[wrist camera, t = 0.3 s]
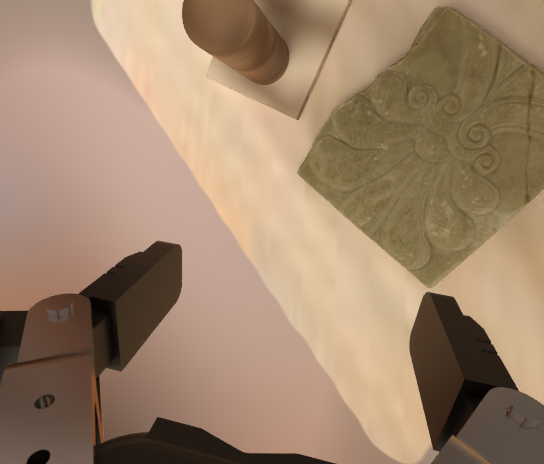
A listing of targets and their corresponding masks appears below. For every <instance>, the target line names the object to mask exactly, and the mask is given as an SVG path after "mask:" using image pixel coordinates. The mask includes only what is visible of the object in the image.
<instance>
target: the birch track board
mask: <svg viewBox="0 0 544 464" xmlns="http://www.w3.org/2000/svg"><path fill="white" fill-rule="evenodd" d="M254 1H255V3H256V4H257V5H258V7H259V8H260V9H261V11H262V12H263V13H264V15H265V16H266V17H267V19H268V20H269V21H270V23H271V24H272V25H273V27H274V28H275V29H276V31H277V32H278V33H279V35H280V36H281V37H282V39H283V40H284V41H285V43H286V45H287V47H288V51H289V63H288V66H287V69H286V71H285V73H284V74H283V76H282V77H281V78H280V79H279V80H278V81H276V82H274V83H272V84H269V85H259V84H256V83H254V82H252V81H251V80H249V79H248V78H246V77H245V76H243V75H242V74H240V73H238V72H237V71H235V70H234V69H232V68H231V67H229V66H228V65H226V64H225V63H223V62H221V61H220V60H218V59H217V58H215V57H214V56H213V58H212V61H211V64H210V66H209V69H208V72H207V75H206V77H207V78H209V79H211V80H213V81H216V82H218V83H220V84H222V85H224V86H226V87H228V88H230V89H233V90H235V91H237V92H239V93H241V94H243V95H245V96H248V97H250V98H252V99H254V100H256V101H258V102H260V103H263V104H265V105H267V106H269V107H271V108H273V109H275V110H277V111H280V112H282V113H284V114H286V115H288V116H290V117H292V118H295V119H297V120H298V119H299V117H300V115H301V113H302V110H303V108H304V106H305V104H306V101H307V99H308V97H309V95H310V92H311V90H312V88H313V86H314V83H315V81H316V79H317V77H318V75H319V72H320V70H321V68H322V66H323V63H324V61H325V59H326V57H327V54H328V52H329V50H330V48H331V45H332V43H333V41H334V39H335V36H336V34H337V32H338V30H339V28H340V25H341V23H342V21H343V19H344V16H345V14H346V12H347V10H348V7H349V5H350V3H351V1H352V0H254Z"/></svg>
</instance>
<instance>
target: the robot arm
mask: <svg viewBox="0 0 544 464" xmlns="http://www.w3.org/2000/svg"><path fill="white" fill-rule="evenodd" d="M181 287H182V249H181V246H180V245H179V244H173V243H168V242H162V241H156V242H155V243H154V244H152V245H151V246H150V247H149V248H148V249H146V250H145V251H144V252H138V253H135V254H133V255H130V256H128V257H125V258H124V259H123V260H121V261H120V262H119V263H118V264H116V265H115V267H113V268H111V269H110V270H109V271H107V273H106V274H103V275H102V276H101V277H100V278H98V279H97V280H96V281H94V282H93V283H92V284H90V285H89V286H88V287H86V288H85V289H84V290H83V291H81V292H80V293H79V294H59V295H55V296H51V297H49V298H46V299H43V300H41V301H39V302H38V303H36V304H35V305H34V306H33V307H31V309H30V310H29V311H0V464H335V463H331V462H327V461H323V460H319V459H315V458H312V457H308V456H304V455H300V454H269V453H268V454H266V453H265V454H264V453H263V454H261V453H253V454H252V453H244V452H242V451H240V450H238V449H236V448H234V447H233V446H231V445H229V444H227V443H226V442H224V441H222V440H220V439H219V438H217V437H215V436H214V435H212V434H210V433H208V432H206V431H205V430H203V429H201V428H197V427H194V426H190V425H186V424H182V423H178V422H175V421H171V420H167V419H163V418H159V417H157V419H156V421H155V422H154V424H153V426H152V428H151V430H150V431H149V432H142V433H134V434H128V435H124V436H120V437H117V438H114V439H111V440H108V441H105V442H104V435H103V418H102V401H101V400H102V399H101V382H100V374H101V373H102V371H103V370H104V369H105V368H109V369H113V370H117V371H122V370H123V369H124V368H125V366H126V365H127V364H128V362H129V361H130V360H131V359H132V358H133V356H134V355H135V354H136V352H137V351H138V350H139V349H140V347H141V346H142V345H143V344H144V342H145V341H146V340H147V339H148V337H149V336H150V335H151V333H152V332H153V331H154V330H155V328H156V327H157V326H158V324H159V323H160V322H161V321H162V320H163V318H164V317H165V316H166V314H167V313H168V312H169V311H170V309H171V308H172V307H173V306H174V304H175V303H176V302H177V300H178V298H179V295H180V292H181ZM409 347H410V355H411V359H412V363H413V367H414V371H415V375H416V380H417V384H418V388H419V392H420V396H421V400H422V405H423V409H424V413H425V417H426V421H427V425H428V430H429V434H430V438H431V442H432V446H433V450H436V451H440V452H439V454H438V455H437V456H436V458H435V459H434V460H433V462H432V463H431V464H544V406H543V405H542V404H541V403H539V402H538V401H537V400H535V399H533V398H532V397H530V396H528V395H526V394H524V393H522V392H520V391H519V390H518V388H517V387H516V385H515V383H514V381H513V380H512V378H511V376H510V374H509V373H508V371H507V369H506V367H505V366H504V364H503V362H502V360H501V359H500V357H499V356H498V355H497V352H496V350H495V348H494V346H493V345H492V344H491V341H490V339H489V337H488V336H487V334H486V332H485V330H484V329H483V328H482V327H481V326H480V325H479V324H478V323H477V322H475V321H474V320H473V319H472V318H471V317H470V316H465V315H463V314H462V312H461V310H460V308H459V306H458V304H457V302H456V300H455V299H454V297H451V296H446V295H441V294H435V293H430V292H426V293H425V295H424V296H423V299H422V302H421V305H420V308H419V311H418V314H417V317H416V320H415V323H414V326H413V329H412V332H411V336H410V346H409Z"/></svg>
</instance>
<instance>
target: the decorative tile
mask: <svg viewBox="0 0 544 464" xmlns="http://www.w3.org/2000/svg"><path fill="white" fill-rule="evenodd" d="M297 174H298V175H299V176H300V177H302V178H303V179H304V180H305V181H306V182H307V183H308V184H309V185H310V186H311V187H313V188H314V189H315V190H316V191H317V192H318V193H319V194H320V195H322V196H323V197H324V198H325V199H326V200H327V201H328V202H330V203H331V204H332V205H333V206H334V207H335V208H336V209H337V210H338V211H340V212H341V213H342V214H343V215H344V216H345V217H346V218H347V219H349V220H350V221H351V222H352V223H353V224H354V225H355V226H356V227H357V228H359V229H360V230H361V231H362V232H363V233H365V234H366V235H367V236H368V237H369V238H371V239H372V240H373V241H374V242H375V243H377V244H378V245H379V246H380V247H381V248H382V249H384V250H385V251H386V252H387V253H388V254H389V255H390V256H391V257H393V258H394V259H395V260H396V261H397V262H399V263H400V264H401V265H402V266H404V267H405V268H406V269H407V270H408V271H409V272H411V273H412V274H413V275H414V276H415V277H416V278H417V279H418V280H419V281H421V282H422V283H423V284H424V285H425V286H426V287H428V288H432V287H433V286H435V285H436V284H437V283H438V282H440V281H441V280H442V279H443V278H444V277H445V276H446V275H448V274H449V273H450V272H451V271H452V270H453V269H454V268H456V267H457V266H458V265H459V264H460V263H461V262H462V261H464V260H465V259H466V258H467V257H468V256H469V255H470V254H472V253H473V252H474V251H475V250H476V249H477V248H479V247H480V246H481V245H482V244H483V243H485V242H486V241H487V240H488V239H489V238H490V237H491V236H492V235H493V234H494V233H495V232H497V231H498V230H499V229H500V228H501V227H502V226H503V225H504V224H505V223H506V222H508V221H509V220H510V219H511V218H512V217H513V216H514V215H515V214H516V213H517V212H518V211H519V210H521V209H522V208H523V207H524V206H525V205H526V204H527V203H529V202H530V201H531V200H533V199H534V198H535V197H536V196H537V195H538V194H539V193H540V192H541V191H542V190H543V189H544V73H543V72H542V71H541V70H539V69H538V68H536V67H535V66H534V65H531V64H530V63H528V62H527V61H526V60H525V59H523V58H522V57H521V56H520V55H518V54H517V53H516V52H515V51H513V50H512V49H510V48H509V47H508V46H506V45H505V44H504V43H502V42H501V41H500V40H498V39H497V38H495V37H494V36H493V35H491V34H490V33H488V32H487V31H485V30H484V29H482V28H481V27H480V26H478V25H477V24H475V23H474V22H472V21H471V20H469V19H468V18H466V17H464V16H463V15H461V14H460V13H458V12H457V11H455V10H454V9H452V8H451V7H446V8H445V9H444V8H442V7H440V6H439V7H437V8H435V10H434V11H433V12H432V14H431V15H430V17H429V18H428V20H427V21H426V22H425V23H424V24H423V26H422V27H421V29H420V31H419V34H418V35H417V37H416V39H415V41H414V43H413V44H412V47H411V49H410V51H409V52H408V53H406V55H405V56H404V57H403V58H402V59H401V60H400V61H399V62H398V63H395V64H393V65H392V66H391V67H390V68H389V69H388V70H386V71H385V72H382V73H381V74H379V75H378V76H377V77H376V78H375V80H374V81H373V83H372V84H371V85H370V86H369V88H368V89H367V90H366V91H364V92H361V93H357V94H355V95H354V96H353V97H352V98H351V99H350V100H349V101H348V102H346V103H344V104H342V105H340V106H338V107H336V108H335V109H333V111H332V114H331V117H330V118H329V120H328V121H327V123H326V124H325V126H324V128H323V129H322V130H321V132H320V133H319V134H318V136H317V137H316V138H315V140H314V143H313V146H312V148H311V150H310V152H309V153H308V155H307V157H306V159H305V161H304V162H303V163H302V165H301V167H300V168H299V170H298V171H297Z"/></svg>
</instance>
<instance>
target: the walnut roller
mask: <svg viewBox="0 0 544 464" xmlns="http://www.w3.org/2000/svg"><path fill="white" fill-rule="evenodd" d="M182 19H183V24H184V28H185V30H186V33H187V35H188V36H189V38H190V39H191V40H192V42H193V43H194V44H196V45H197V46H198V47H200V48H201V49H203V50H205V51H206V52H208V53H209V54H211V55H212V56H214V57H215V58H217V59H218V60H220V61H221V62H223V63H225V64H226V65H228V66H229V67H231V68H232V69H234V70H235V71H237V72H238V73H240V74H242V75H243V76H245V77H246V78H248V79H249V80H251V81H252V82H254V83H256V84H259V85H269V84H272V83H274V82H276V81H278V80H279V79H280V78H281V77H282V76H283V74H284V73H285V71H286V69H287V66H288V63H289V51H288V47H287V45H286V43H285V41H284V40H283V39H282V37H281V36H280V35H279V33H278V32H277V31H276V29H275V28H274V27H273V25H272V24H271V23H270V21H269V20H268V19H267V17H266V16H265V15H264V13H263V12H262V11H261V9H260V8H259V7H258V5H257V4H256V3H255V1H254V0H184V2H183V8H182Z"/></svg>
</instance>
